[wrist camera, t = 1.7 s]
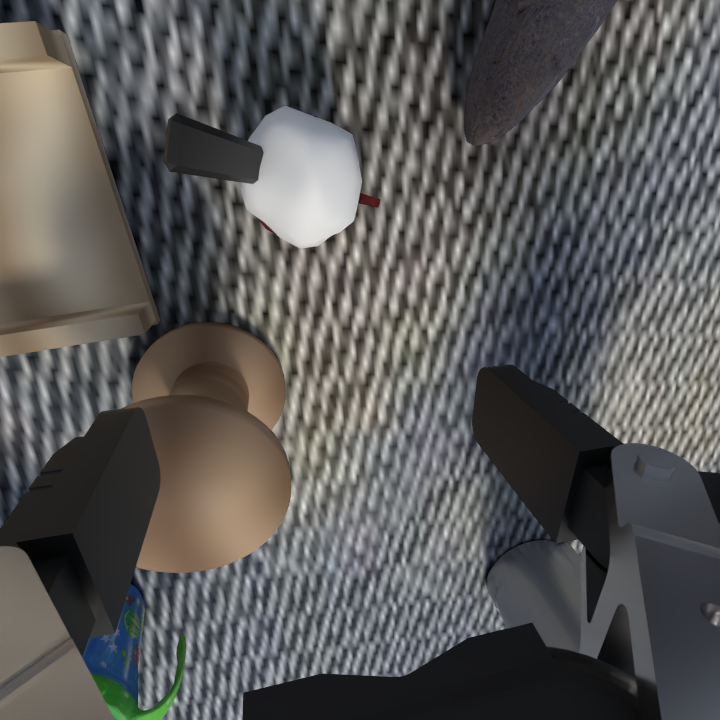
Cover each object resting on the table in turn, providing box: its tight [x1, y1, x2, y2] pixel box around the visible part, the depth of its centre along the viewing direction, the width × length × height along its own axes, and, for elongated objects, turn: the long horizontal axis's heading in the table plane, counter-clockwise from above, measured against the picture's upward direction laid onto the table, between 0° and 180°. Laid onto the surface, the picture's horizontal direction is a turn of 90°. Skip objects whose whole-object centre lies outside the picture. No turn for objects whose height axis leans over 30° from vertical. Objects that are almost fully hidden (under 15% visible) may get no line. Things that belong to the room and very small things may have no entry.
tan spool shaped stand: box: [122, 322, 291, 573], centre depth 25 cm, size 10×10×11 cm
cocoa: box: [164, 106, 380, 248], centre depth 20 cm, size 10×6×12 cm, turn 51°
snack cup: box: [82, 584, 186, 720], centre depth 31 cm, size 16×10×10 cm
